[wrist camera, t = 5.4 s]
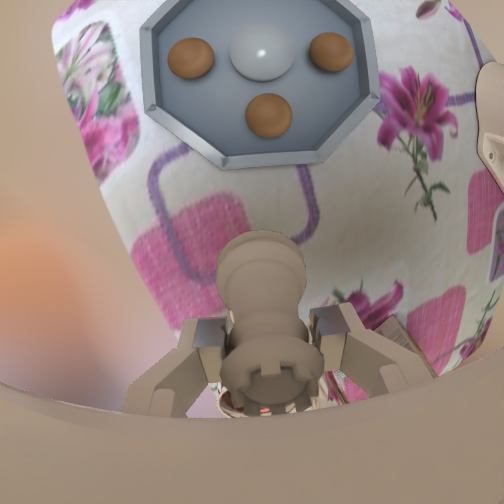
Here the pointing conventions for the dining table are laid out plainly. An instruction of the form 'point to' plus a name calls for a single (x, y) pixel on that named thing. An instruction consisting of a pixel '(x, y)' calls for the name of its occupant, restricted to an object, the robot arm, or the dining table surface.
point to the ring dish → (231, 94)
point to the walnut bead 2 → (268, 115)
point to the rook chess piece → (267, 325)
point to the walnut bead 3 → (331, 52)
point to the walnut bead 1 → (190, 58)
